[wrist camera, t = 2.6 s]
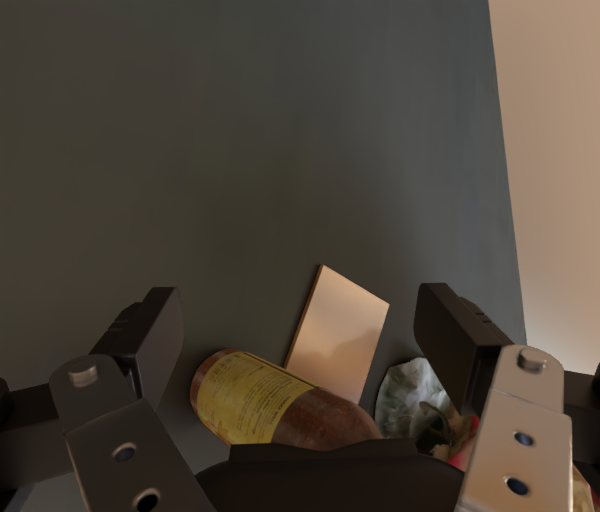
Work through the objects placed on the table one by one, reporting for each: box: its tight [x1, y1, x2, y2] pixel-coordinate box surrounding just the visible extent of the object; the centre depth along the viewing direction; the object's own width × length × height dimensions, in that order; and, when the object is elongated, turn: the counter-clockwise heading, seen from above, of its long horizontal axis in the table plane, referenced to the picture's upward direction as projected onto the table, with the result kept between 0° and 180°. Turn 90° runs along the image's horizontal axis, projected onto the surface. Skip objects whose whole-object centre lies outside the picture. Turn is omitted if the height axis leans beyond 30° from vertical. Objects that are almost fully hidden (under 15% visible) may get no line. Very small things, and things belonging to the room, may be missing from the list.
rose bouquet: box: [375, 357, 600, 512], centre depth 38 cm, size 26×29×30 cm
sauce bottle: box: [190, 348, 384, 451], centre depth 23 cm, size 6×6×20 cm
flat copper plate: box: [283, 265, 389, 405], centre depth 37 cm, size 24×12×1 cm, turn 153°
